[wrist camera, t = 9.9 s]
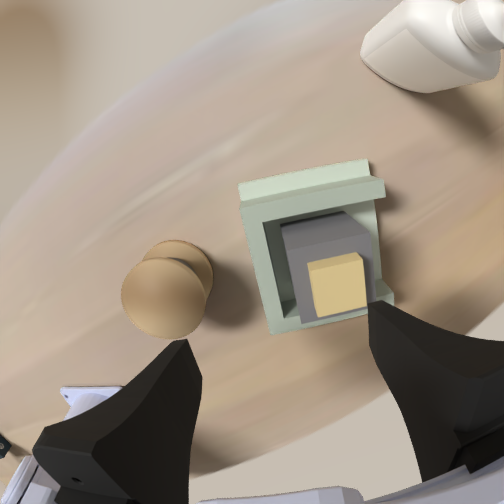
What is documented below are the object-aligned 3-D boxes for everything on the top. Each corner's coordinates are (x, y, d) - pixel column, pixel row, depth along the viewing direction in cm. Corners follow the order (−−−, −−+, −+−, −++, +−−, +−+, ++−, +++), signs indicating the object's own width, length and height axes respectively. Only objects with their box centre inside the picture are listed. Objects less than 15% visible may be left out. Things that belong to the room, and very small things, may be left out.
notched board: (379, 299, 22) (394, 319, 19) (272, 323, 22) (273, 348, 20) (363, 158, 19) (380, 161, 16) (238, 183, 19) (234, 189, 16)
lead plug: (351, 270, 20) (382, 316, 14) (292, 283, 20) (303, 334, 15) (343, 210, 19) (377, 238, 13) (279, 223, 19) (288, 257, 14)
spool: (221, 301, 22) (214, 332, 18) (156, 313, 22) (139, 343, 19) (201, 232, 20) (189, 252, 17) (133, 249, 21) (109, 271, 17)
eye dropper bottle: (404, 114, 18) (540, 102, 6) (347, 48, 16) (441, -39, 5) (442, 80, 17) (572, 55, 5) (389, 17, 15) (490, -62, 4)
